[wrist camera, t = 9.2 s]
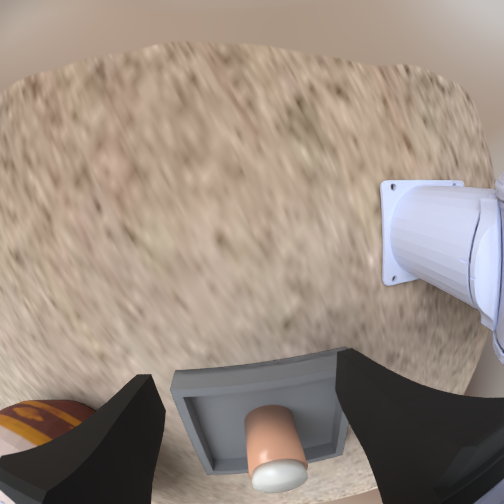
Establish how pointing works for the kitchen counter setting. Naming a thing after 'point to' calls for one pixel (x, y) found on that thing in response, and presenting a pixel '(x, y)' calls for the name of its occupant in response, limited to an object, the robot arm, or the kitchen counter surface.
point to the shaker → (274, 450)
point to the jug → (37, 425)
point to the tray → (256, 395)
